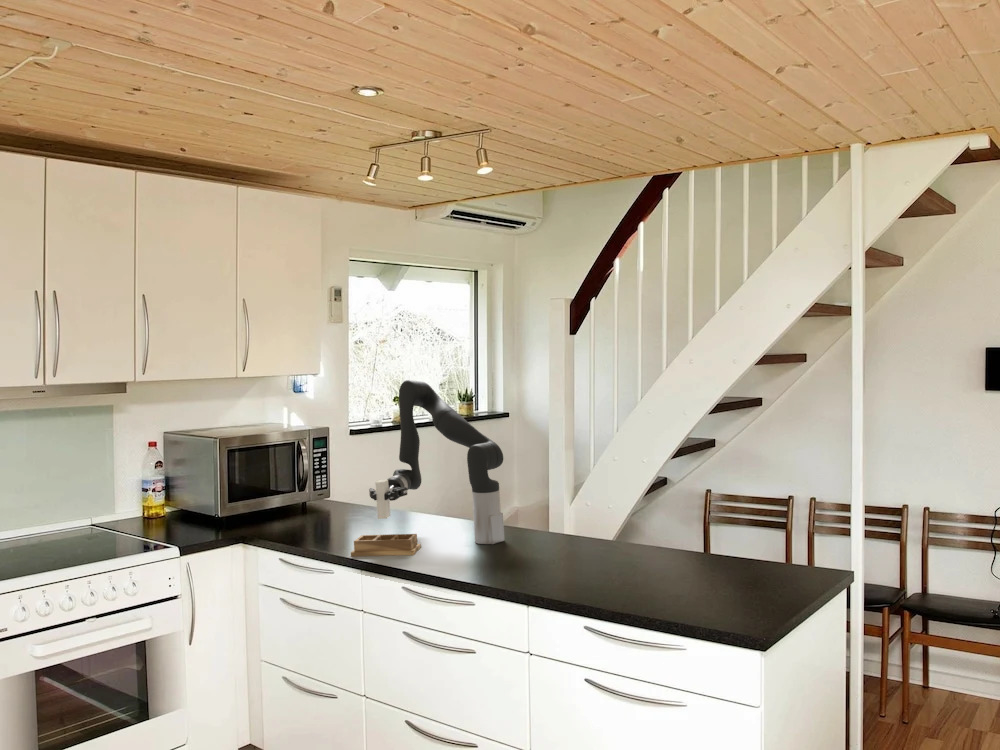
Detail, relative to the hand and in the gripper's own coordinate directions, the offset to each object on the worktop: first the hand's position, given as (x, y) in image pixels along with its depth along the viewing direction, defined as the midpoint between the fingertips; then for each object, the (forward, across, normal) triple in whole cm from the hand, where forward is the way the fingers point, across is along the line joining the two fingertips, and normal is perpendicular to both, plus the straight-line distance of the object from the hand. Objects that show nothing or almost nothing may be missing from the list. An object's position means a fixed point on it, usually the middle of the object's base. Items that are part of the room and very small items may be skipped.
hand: (380, 497), depth 280 cm
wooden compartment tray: (-3, 0, +19) cm, 19 cm away
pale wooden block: (-3, 0, +7) cm, 8 cm away
